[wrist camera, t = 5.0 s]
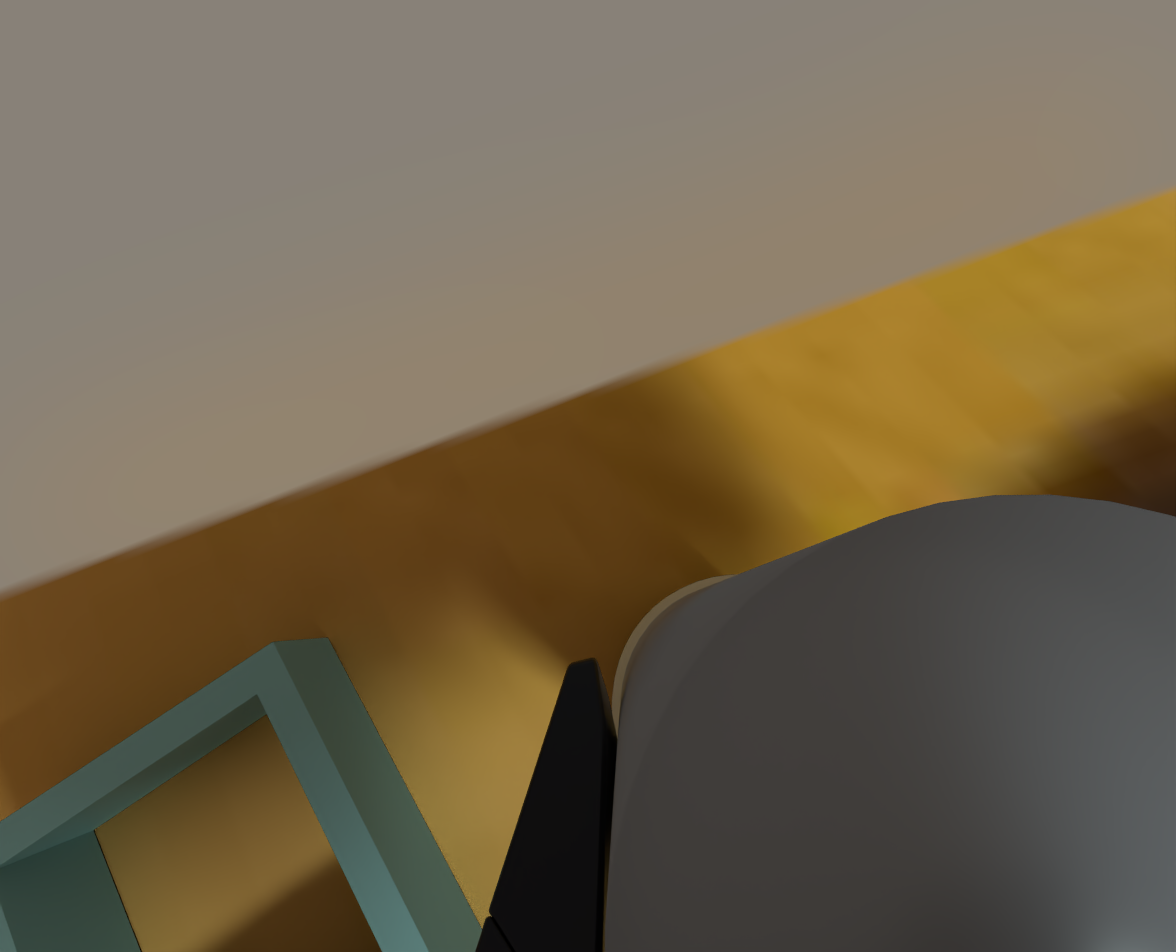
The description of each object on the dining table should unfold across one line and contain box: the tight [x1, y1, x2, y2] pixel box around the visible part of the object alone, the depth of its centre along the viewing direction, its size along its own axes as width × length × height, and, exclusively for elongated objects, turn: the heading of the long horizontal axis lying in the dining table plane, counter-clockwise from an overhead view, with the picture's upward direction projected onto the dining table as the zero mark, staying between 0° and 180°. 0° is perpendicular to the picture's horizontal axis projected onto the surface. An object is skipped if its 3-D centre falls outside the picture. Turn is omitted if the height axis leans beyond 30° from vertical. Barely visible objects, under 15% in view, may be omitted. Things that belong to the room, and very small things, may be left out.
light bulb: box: [605, 495, 1176, 952], centre depth 9 cm, size 5×5×12 cm
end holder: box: [0, 638, 482, 952], centre depth 13 cm, size 8×8×2 cm
